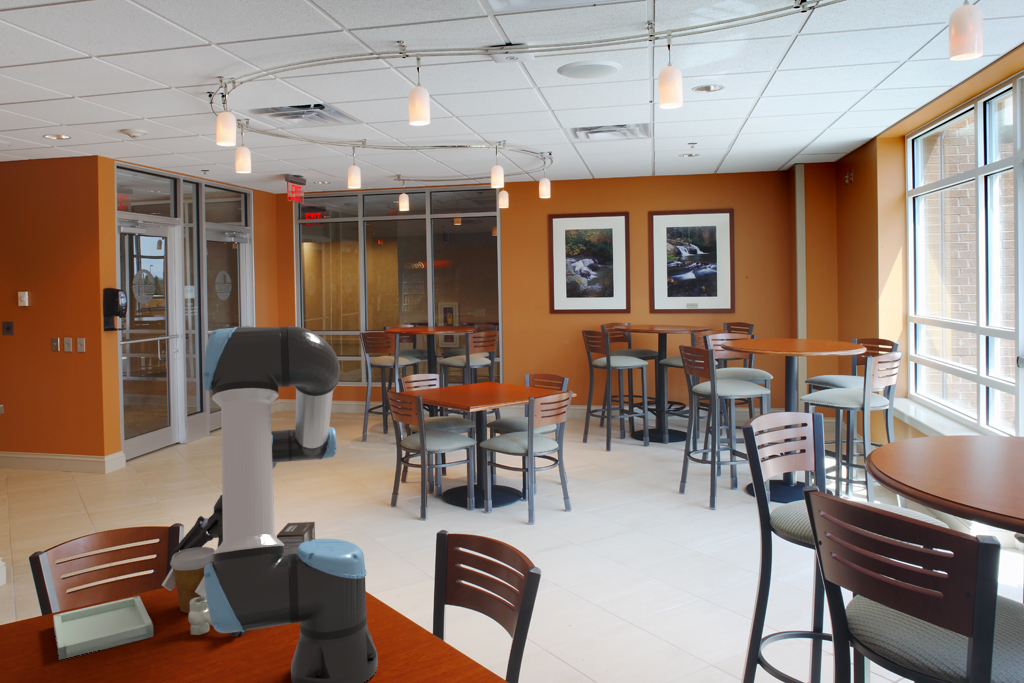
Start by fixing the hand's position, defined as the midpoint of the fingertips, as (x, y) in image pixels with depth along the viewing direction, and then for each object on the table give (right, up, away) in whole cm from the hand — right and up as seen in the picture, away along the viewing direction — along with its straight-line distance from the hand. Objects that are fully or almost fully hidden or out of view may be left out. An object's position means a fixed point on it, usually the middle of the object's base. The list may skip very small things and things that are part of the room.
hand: (183, 591), depth 152 cm
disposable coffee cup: (+1, -5, +3) cm, 6 cm away
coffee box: (+23, -4, +8) cm, 24 cm away
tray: (-13, -5, -8) cm, 16 cm away
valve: (+11, -5, -9) cm, 16 cm away
